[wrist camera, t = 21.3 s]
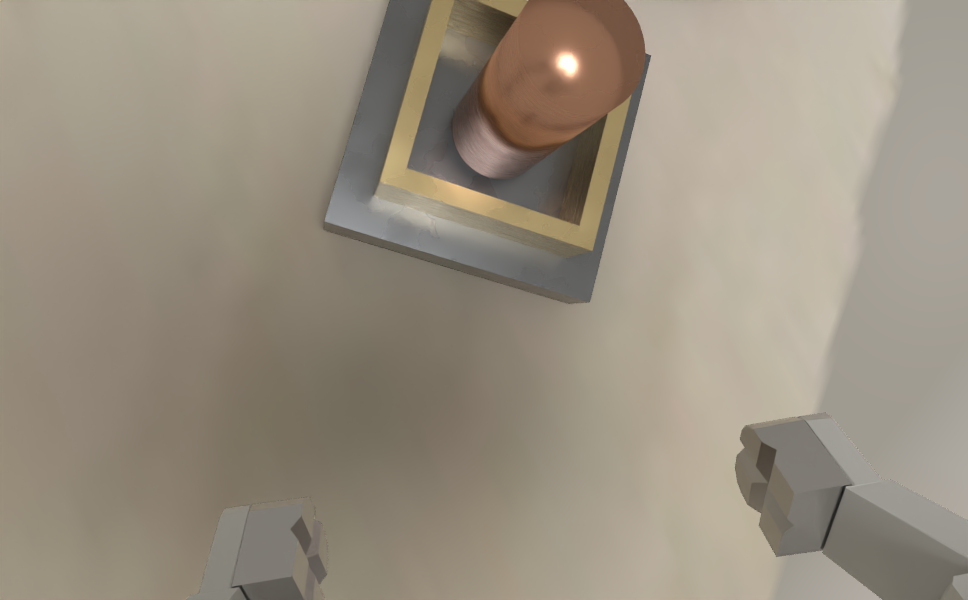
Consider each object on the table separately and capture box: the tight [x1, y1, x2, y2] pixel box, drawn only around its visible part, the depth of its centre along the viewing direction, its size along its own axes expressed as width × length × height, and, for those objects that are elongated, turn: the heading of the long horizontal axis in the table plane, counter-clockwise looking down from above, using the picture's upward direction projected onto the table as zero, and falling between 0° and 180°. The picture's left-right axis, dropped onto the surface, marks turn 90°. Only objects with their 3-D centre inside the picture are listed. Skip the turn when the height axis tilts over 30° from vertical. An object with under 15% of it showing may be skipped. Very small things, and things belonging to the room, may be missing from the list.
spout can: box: [452, 0, 645, 179], centre depth 29 cm, size 5×8×11 cm
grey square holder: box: [324, 0, 651, 304], centre depth 34 cm, size 15×15×6 cm
